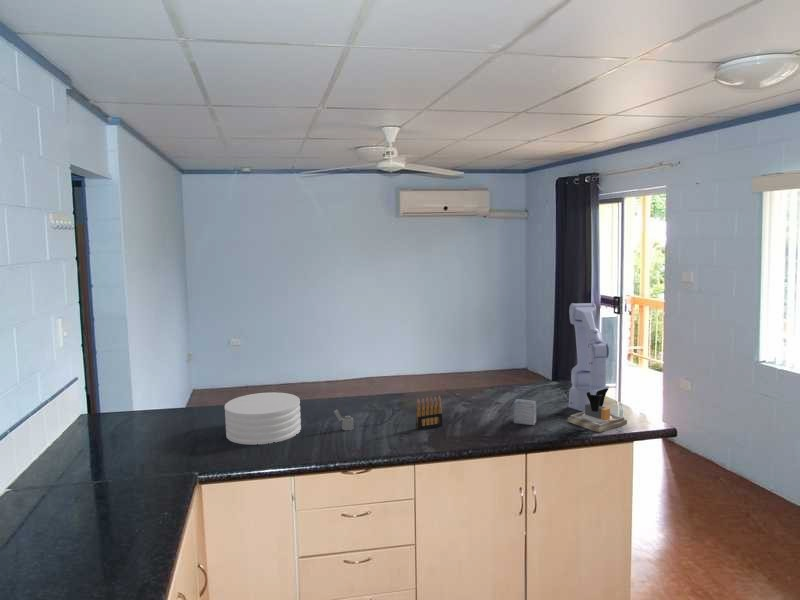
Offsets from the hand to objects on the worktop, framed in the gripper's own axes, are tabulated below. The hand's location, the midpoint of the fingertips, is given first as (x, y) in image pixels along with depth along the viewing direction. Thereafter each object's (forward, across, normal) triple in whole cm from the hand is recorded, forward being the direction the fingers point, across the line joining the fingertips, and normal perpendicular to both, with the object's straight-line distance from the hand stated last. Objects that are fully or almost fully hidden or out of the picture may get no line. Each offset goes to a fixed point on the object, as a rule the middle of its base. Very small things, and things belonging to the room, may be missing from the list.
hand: (597, 408), depth 225 cm
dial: (+4, 0, 0) cm, 4 cm away
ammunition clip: (+6, -35, +54) cm, 65 cm away
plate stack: (+6, -70, +108) cm, 129 cm away
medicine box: (+6, -13, +24) cm, 28 cm away
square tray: (+6, 0, 0) cm, 6 cm away
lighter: (+6, -54, +82) cm, 98 cm away
